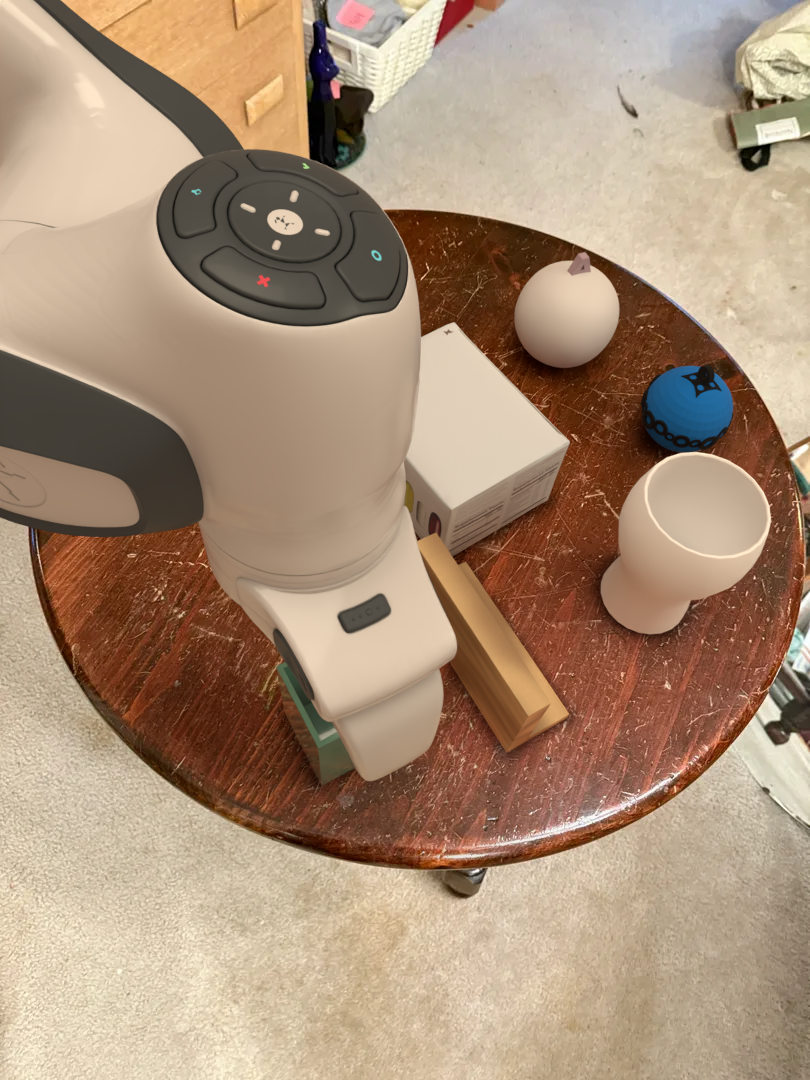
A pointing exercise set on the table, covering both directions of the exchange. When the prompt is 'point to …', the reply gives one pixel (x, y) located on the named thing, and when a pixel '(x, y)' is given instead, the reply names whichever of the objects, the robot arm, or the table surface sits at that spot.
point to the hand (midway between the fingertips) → (309, 643)
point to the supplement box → (474, 445)
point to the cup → (683, 539)
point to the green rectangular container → (313, 730)
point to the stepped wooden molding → (490, 653)
